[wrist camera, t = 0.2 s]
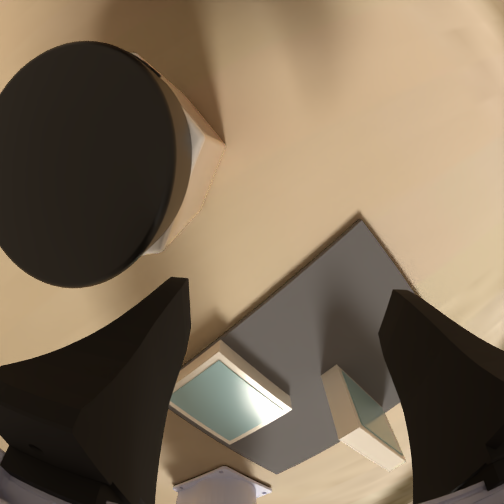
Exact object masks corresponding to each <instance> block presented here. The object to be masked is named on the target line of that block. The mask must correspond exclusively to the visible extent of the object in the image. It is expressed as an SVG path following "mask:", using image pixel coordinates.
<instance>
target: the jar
mask: <svg viewBox="0 0 504 504" xmlns="http://www.w3.org/2000/svg"><path fill="white" fill-rule="evenodd" d="M225 149H226V145H225V143H224V142H223V141H222V140H221V138H220V137H219V136H218V135H217V133H216V132H215V131H214V130H213V129H212V127H211V126H210V125H209V124H208V122H207V121H206V120H205V119H204V118H203V116H202V115H201V114H200V113H199V111H198V110H197V109H196V108H195V107H194V105H193V104H192V103H191V102H190V101H189V99H188V98H187V97H186V96H185V95H184V94H183V93H182V92H181V91H180V90H179V89H177V88H176V87H175V86H174V85H173V84H172V83H171V82H170V81H168V80H167V79H166V78H165V77H164V76H163V75H162V74H160V73H159V72H158V71H157V70H156V69H155V68H154V67H152V66H151V65H150V64H149V63H148V62H147V61H145V60H144V59H143V58H142V57H141V56H140V55H138V54H137V53H135V52H127V51H125V50H123V49H121V48H118V47H116V46H113V45H110V44H107V43H102V42H96V41H78V42H72V43H66V44H63V45H60V46H57V47H54V48H52V49H50V50H48V51H46V52H44V53H42V54H40V55H39V56H37V57H36V58H34V59H33V60H31V61H30V62H29V63H27V64H26V65H25V66H24V67H23V68H21V69H20V70H19V71H18V72H17V73H16V74H15V75H14V76H13V78H12V79H11V80H10V81H9V82H8V84H7V85H6V86H5V88H4V89H3V91H2V92H1V94H0V247H1V248H2V250H3V251H4V252H5V253H6V255H7V256H8V257H9V258H10V259H11V260H12V261H13V262H14V263H15V264H16V265H17V266H18V267H19V268H20V269H22V270H23V271H24V272H26V273H27V274H29V275H30V276H32V277H34V278H36V279H38V280H40V281H42V282H44V283H47V284H50V285H53V286H58V287H63V288H84V287H90V286H94V285H97V284H100V283H103V282H105V281H108V280H110V279H112V278H114V277H116V276H117V275H119V274H120V273H122V272H123V271H125V270H126V269H127V268H129V267H130V266H131V265H132V264H133V263H134V262H135V261H136V260H137V259H138V258H139V257H141V256H142V255H149V254H156V253H161V252H163V251H164V250H165V249H166V247H167V246H168V245H169V244H170V243H171V242H172V241H173V240H174V239H175V237H176V236H177V235H178V234H179V233H180V232H181V231H182V230H183V229H184V228H185V227H186V226H187V224H188V223H189V222H190V221H191V220H192V219H193V218H194V217H195V216H196V215H197V214H198V213H199V212H200V211H201V209H202V206H203V203H204V201H205V198H206V196H207V193H208V191H209V188H210V185H211V183H212V180H213V178H214V175H215V173H216V170H217V168H218V166H219V163H220V161H221V158H222V156H223V153H224V151H225Z"/></svg>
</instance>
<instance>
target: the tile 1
mask: <svg viewBox="0 0 504 504" xmlns="http://www.w3.org/2000/svg"><path fill="white" fill-rule="evenodd" d="M169 405H171V406H172V407H173V408H175V409H176V410H178V411H179V412H180V413H182V414H183V415H185V416H186V417H188V418H189V419H190V420H192V421H193V422H195V423H196V424H198V425H199V426H201V427H202V428H204V429H205V430H207V431H208V432H210V433H212V434H213V435H215V436H216V437H218V438H219V439H221V440H223V441H224V442H226V443H228V444H229V445H230V444H232V443H234V442H236V441H238V440H240V439H242V438H244V437H246V436H247V435H249V434H251V433H253V432H255V431H256V430H258V429H260V428H262V427H263V426H265V425H267V424H269V423H270V422H272V421H274V420H275V419H277V418H279V417H280V416H282V415H284V414H285V413H287V412H289V411H290V410H292V406H291V399H290V396H289V395H288V394H286V393H285V392H284V391H282V390H281V389H280V388H279V387H277V386H276V385H275V384H274V383H272V382H271V381H270V380H269V379H267V378H266V377H265V376H264V375H262V374H261V373H260V372H259V371H257V370H256V369H255V368H254V367H253V366H251V365H250V364H249V363H248V362H247V361H245V360H244V359H243V358H242V357H241V356H239V355H238V354H237V353H236V352H235V351H234V350H232V349H231V348H230V347H229V346H228V345H227V344H225V343H224V342H223V341H222V340H219V341H218V342H217V343H216V344H214V345H213V346H212V347H210V348H209V349H208V350H207V351H205V352H204V353H203V354H202V355H200V356H199V357H198V358H196V359H195V360H194V361H192V362H191V363H190V364H189V365H187V366H186V367H185V368H183V369H182V370H181V371H180V372H179V375H178V378H177V381H176V384H175V387H174V390H173V393H172V396H171V399H170V403H169Z"/></svg>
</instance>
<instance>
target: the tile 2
mask: <svg viewBox="0 0 504 504" xmlns="http://www.w3.org/2000/svg"><path fill="white" fill-rule="evenodd" d="M321 378H322V382H323V385H324V389H325V392H326V396H327V399H328V403H329V406H330V410H331V413H332V417H333V421H334V424H335V428H336V431H337V435H338V439H339V440H340V441H341V442H343V443H344V444H346V445H347V446H349V447H350V448H352V449H353V450H355V451H356V452H358V453H360V454H361V455H363V456H364V457H366V458H367V459H369V460H371V461H372V462H374V463H375V464H377V465H379V466H380V467H382V468H384V469H385V470H387V471H389V472H391V471H392V470H394V469H396V468H397V467H399V466H401V465H402V464H404V463H405V462H406V460H405V457H404V455H403V453H402V451H401V448H400V446H399V444H398V441H397V439H396V437H395V435H394V432H393V430H392V428H391V426H390V423H389V421H388V419H387V417H386V415H385V412H384V410H383V408H382V407H381V406H380V405H379V404H378V403H377V402H376V401H375V400H374V399H373V398H372V397H371V396H370V395H368V394H367V393H366V392H365V391H364V390H363V389H362V388H361V387H360V386H359V385H358V384H357V383H356V382H355V381H354V380H353V379H352V378H350V377H349V376H348V375H347V374H346V373H345V372H344V371H343V370H342V369H341V368H340V367H339V366H338V365H337V364H336V365H335V366H334V367H332V368H331V369H329V370H328V371H327V372H325V373H324V374H322V375H321Z"/></svg>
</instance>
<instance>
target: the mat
mask: <svg viewBox="0 0 504 504" xmlns="http://www.w3.org/2000/svg"><path fill="white" fill-rule="evenodd" d="M393 289H399V290H408V291H410V292H412V293H414V292H413V290H412V289H411V287H410V286H409V284H408V283H407V281H406V280H405V279H404V277H403V276H402V274H401V273H400V271H399V270H398V268H397V267H396V266H395V264H394V263H393V261H392V260H391V259H390V257H389V256H388V254H387V253H386V252H385V250H384V249H383V248H382V246H381V245H380V244H379V242H378V241H377V240H376V238H375V237H374V236H373V234H372V233H371V232H370V230H369V229H368V228H367V226H366V225H365V224H364V222H363V221H362V220H361V219H359V220H358V221H356V222H355V223H354V224H353V225H352V226H351V227H350V228H349V229H348V230H346V231H345V232H344V233H343V234H342V235H341V236H340V237H339V238H337V239H336V240H335V241H334V242H333V243H332V244H331V245H329V246H328V247H327V248H326V249H325V250H324V251H323V252H321V253H320V254H319V255H318V256H317V257H316V258H315V259H313V260H312V261H311V262H310V263H309V264H308V265H306V266H305V267H304V268H303V269H302V270H301V271H299V272H298V273H297V274H296V275H295V276H294V277H292V278H291V279H290V280H289V281H288V282H286V283H285V284H284V285H283V286H282V287H280V288H279V289H278V290H277V291H276V292H275V293H273V294H272V295H271V296H270V297H269V298H267V299H266V300H265V301H264V302H262V303H261V304H260V305H259V306H258V307H256V308H255V309H254V310H253V311H252V312H250V313H249V314H248V315H247V316H245V317H244V318H243V319H242V320H240V321H239V322H238V323H237V324H236V325H234V326H233V327H232V328H231V329H229V330H228V331H227V332H226V333H224V334H223V335H222V336H221V337H219V338H218V339H217V340H216V341H214V342H213V343H212V344H210V345H209V346H208V347H207V348H205V349H204V350H203V351H202V352H200V353H199V354H198V355H196V356H195V357H194V358H193V359H191V360H190V361H189V362H187V363H186V364H185V365H183V366H182V367H181V369H180V371H181V370H182V369H183V368H185V367H186V366H187V365H189V364H190V363H191V362H192V361H194V360H195V359H196V358H198V357H199V356H200V355H202V354H203V353H204V352H205V351H207V350H208V349H209V348H210V347H212V346H213V345H214V344H216V343H217V342H218V341H219V340H222V341H223V342H224V343H225V344H227V345H228V346H229V347H230V348H231V349H232V350H234V351H235V352H236V353H237V354H238V355H239V356H241V357H242V358H243V359H244V360H245V361H247V362H248V363H249V364H250V365H251V366H253V367H254V368H255V369H256V370H257V371H259V372H260V373H261V374H262V375H264V376H265V377H266V378H267V379H269V380H270V381H271V382H272V383H274V384H275V385H276V386H277V387H279V388H280V389H281V390H282V391H284V392H285V393H286V394H288V395H289V396H290V399H291V406H292V410H290V411H289V412H287V413H285V414H284V415H282V416H280V417H279V418H277V419H275V420H274V421H272V422H270V423H269V424H267V425H265V426H263V427H262V428H260V429H258V430H256V431H255V432H253V433H251V434H249V435H247V436H246V437H244V438H242V439H240V440H238V441H236V442H234V443H232V444H230V445H229V444H228V443H226V442H224V441H223V440H221V439H219V438H218V437H216V436H215V435H213V434H212V433H210V432H208V431H207V430H205V429H204V428H202V427H201V426H199V425H198V424H196V423H195V422H193V421H192V420H190V419H189V418H188V417H186V416H185V415H183V414H182V413H180V412H179V411H178V410H176V409H175V408H173V407H172V406H171V405H169V407H168V408H169V409H170V410H171V411H173V412H174V413H176V414H177V415H178V416H180V417H181V418H183V419H184V420H186V421H187V422H189V423H190V424H192V425H193V426H195V427H196V428H198V429H199V430H201V431H202V432H204V433H205V434H207V435H208V436H210V437H212V438H213V439H215V440H216V441H218V442H220V443H221V444H223V445H225V446H226V447H228V448H230V449H231V450H233V451H235V452H236V453H238V454H240V455H242V456H243V457H245V458H247V459H249V460H251V461H252V462H254V463H256V464H258V465H260V466H262V467H264V468H265V469H267V470H269V471H271V472H273V473H275V474H279V473H281V472H283V471H285V470H287V469H289V468H291V467H293V466H295V465H298V464H300V463H301V462H303V461H305V460H307V459H309V458H311V457H313V456H315V455H317V454H319V453H321V452H322V451H324V450H326V449H328V448H330V447H331V446H333V445H335V444H337V443H338V442H340V440H339V439H338V435H337V431H336V428H335V424H334V421H333V417H332V413H331V410H330V406H329V403H328V399H327V396H326V392H325V389H324V385H323V382H322V378H321V375H322V374H324V373H325V372H327V371H328V370H329V369H331V368H332V367H334V366H335V365H336V364H337V365H338V366H339V367H340V368H341V369H342V370H343V371H344V372H345V373H346V374H347V375H348V376H349V377H350V378H352V379H353V380H354V381H355V382H356V383H357V384H358V385H359V386H360V387H361V388H362V389H363V390H364V391H365V392H366V393H367V394H368V395H370V396H371V397H372V398H373V399H374V400H375V401H376V402H377V403H378V404H379V405H380V406H381V407H382V408H383V410H384V412H387V411H388V410H390V409H391V408H393V407H394V406H395V405H397V404H398V403H399V402H400V399H399V397H398V394H397V391H396V389H395V386H394V383H393V381H392V378H391V375H390V373H389V370H388V368H387V365H386V362H385V360H384V357H383V353H382V349H381V345H380V340H379V336H378V332H379V329H380V326H381V324H382V321H383V318H384V315H385V312H386V309H387V306H388V303H389V300H390V297H391V294H392V290H393ZM414 294H415V293H414Z"/></svg>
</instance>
